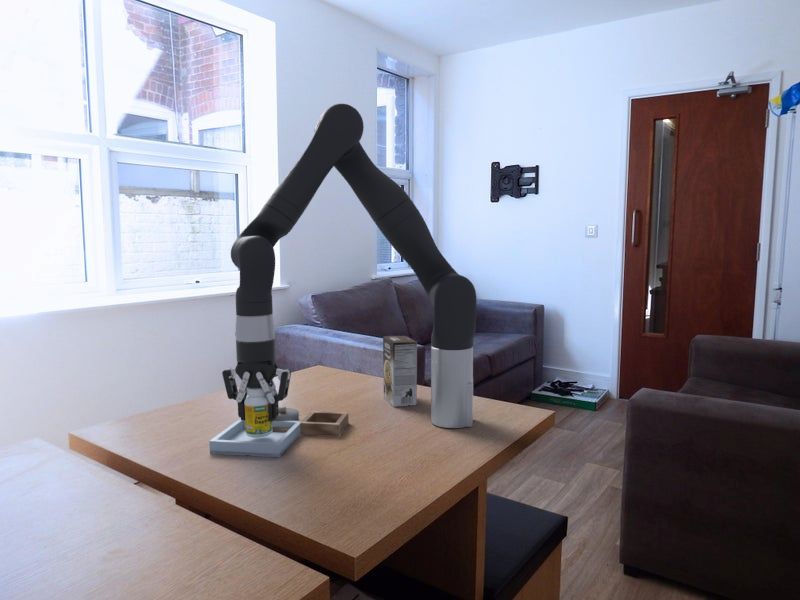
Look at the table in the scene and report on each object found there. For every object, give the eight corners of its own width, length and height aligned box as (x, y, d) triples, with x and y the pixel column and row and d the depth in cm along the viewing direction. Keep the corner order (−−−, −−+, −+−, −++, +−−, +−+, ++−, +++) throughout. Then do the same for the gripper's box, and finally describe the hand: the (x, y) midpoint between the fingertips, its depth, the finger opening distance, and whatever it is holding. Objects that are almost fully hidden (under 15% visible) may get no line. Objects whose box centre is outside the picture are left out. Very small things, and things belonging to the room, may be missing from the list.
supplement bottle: (264, 427, 120) (262, 382, 119) (278, 433, 116) (276, 387, 115) (240, 433, 117) (238, 387, 116) (254, 440, 113) (252, 392, 112)
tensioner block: (349, 422, 129) (349, 403, 129) (338, 437, 119) (337, 416, 119) (269, 418, 132) (268, 400, 131) (252, 433, 122) (251, 413, 122)
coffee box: (382, 397, 149) (382, 336, 147) (406, 395, 151) (406, 334, 149) (392, 407, 140) (392, 342, 138) (417, 405, 142) (417, 340, 140)
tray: (302, 432, 122) (302, 421, 122) (279, 457, 109) (279, 444, 108) (240, 429, 125) (240, 418, 124) (209, 453, 111) (209, 441, 110)
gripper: (296, 334, 117) (298, 415, 119) (229, 333, 119) (232, 412, 121) (283, 340, 110) (286, 427, 111) (212, 339, 112) (216, 424, 114)
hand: (258, 419), depth 116 cm, fingers closed on supplement bottle, 5 cm apart
